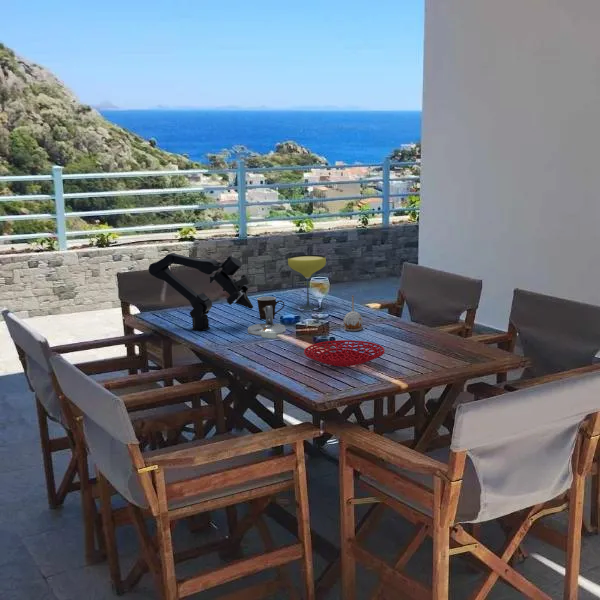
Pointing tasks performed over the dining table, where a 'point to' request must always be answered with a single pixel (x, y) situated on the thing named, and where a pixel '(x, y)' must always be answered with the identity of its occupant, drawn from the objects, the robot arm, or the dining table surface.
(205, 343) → the dining table surface
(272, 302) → the coffee mug
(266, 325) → the turntable platter
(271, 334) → the base plate
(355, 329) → the decorative ornament
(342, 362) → the bowl
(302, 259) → the cocktail glass
